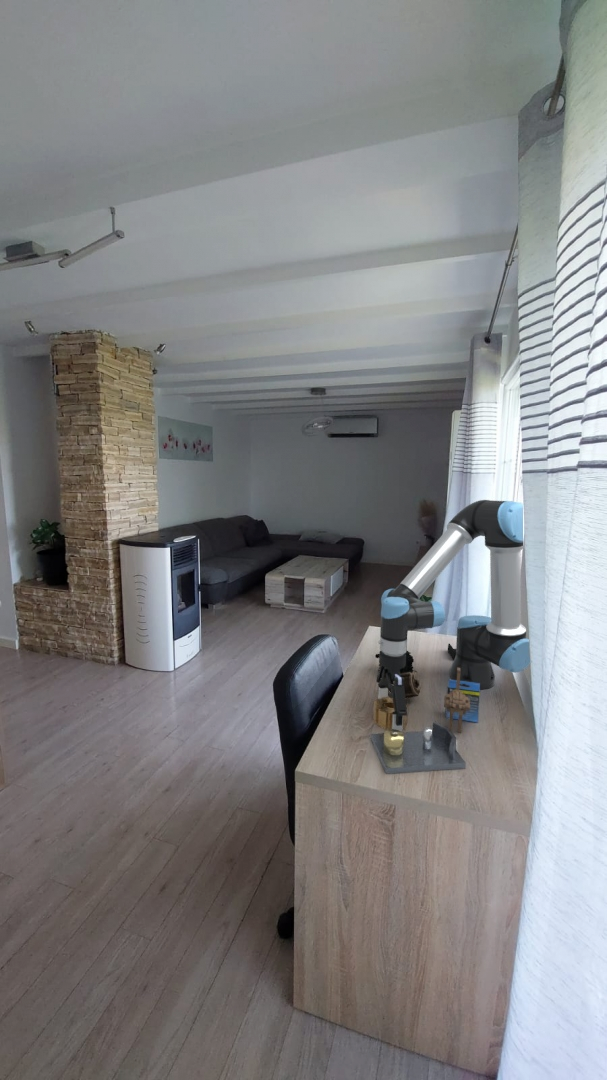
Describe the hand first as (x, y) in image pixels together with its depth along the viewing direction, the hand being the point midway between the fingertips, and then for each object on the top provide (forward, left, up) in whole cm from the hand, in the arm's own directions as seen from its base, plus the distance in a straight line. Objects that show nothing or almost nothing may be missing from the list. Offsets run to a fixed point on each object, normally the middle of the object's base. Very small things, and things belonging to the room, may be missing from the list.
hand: (389, 720), depth 125 cm
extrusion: (-12, -29, -1) cm, 32 cm away
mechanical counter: (-7, -11, 0) cm, 13 cm away
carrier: (-2, +15, 0) cm, 15 cm away
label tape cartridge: (-22, 0, 0) cm, 22 cm away
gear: (0, 0, 0) cm, 0 cm away
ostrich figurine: (-15, +11, -1) cm, 19 cm away
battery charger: (-46, -42, -1) cm, 62 cm away
